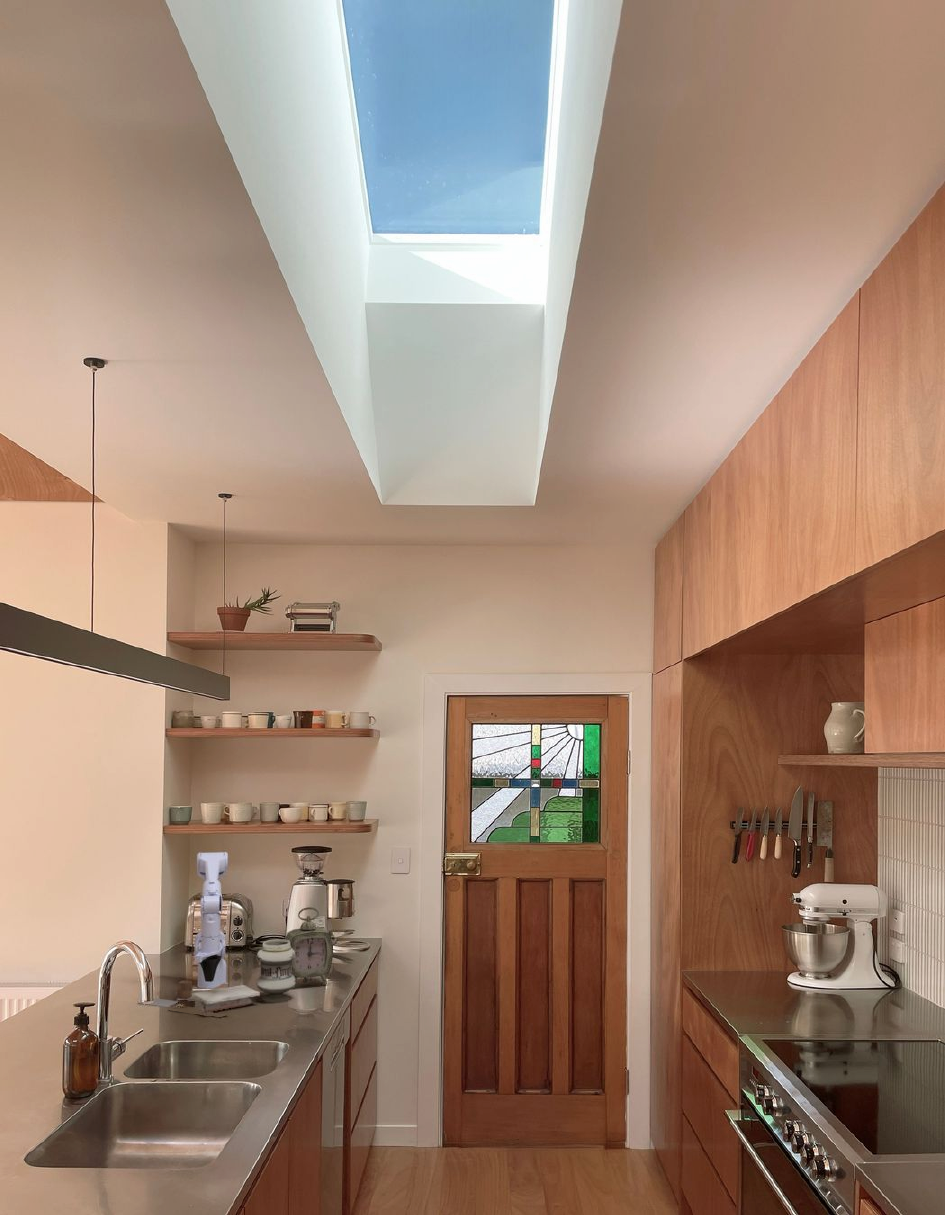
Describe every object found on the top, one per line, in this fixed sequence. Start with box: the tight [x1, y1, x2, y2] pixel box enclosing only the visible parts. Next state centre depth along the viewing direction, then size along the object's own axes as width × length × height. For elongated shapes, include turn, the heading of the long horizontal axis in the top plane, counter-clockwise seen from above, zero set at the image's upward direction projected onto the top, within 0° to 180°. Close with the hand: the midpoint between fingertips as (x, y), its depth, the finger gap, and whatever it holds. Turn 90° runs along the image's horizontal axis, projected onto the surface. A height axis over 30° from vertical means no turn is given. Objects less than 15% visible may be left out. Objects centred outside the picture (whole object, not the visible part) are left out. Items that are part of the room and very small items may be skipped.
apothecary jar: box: [256, 938, 297, 1004], centre depth 333 cm, size 12×12×18 cm
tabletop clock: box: [284, 906, 333, 989], centre depth 352 cm, size 14×9×25 cm, turn 114°
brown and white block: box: [177, 979, 195, 1002], centre depth 333 cm, size 9×4×5 cm, turn 70°
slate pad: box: [136, 997, 180, 1008], centre depth 328 cm, size 6×11×1 cm, turn 69°
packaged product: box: [191, 984, 261, 1013], centre depth 324 cm, size 18×5×10 cm
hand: (209, 981), depth 325 cm, fingers closed
